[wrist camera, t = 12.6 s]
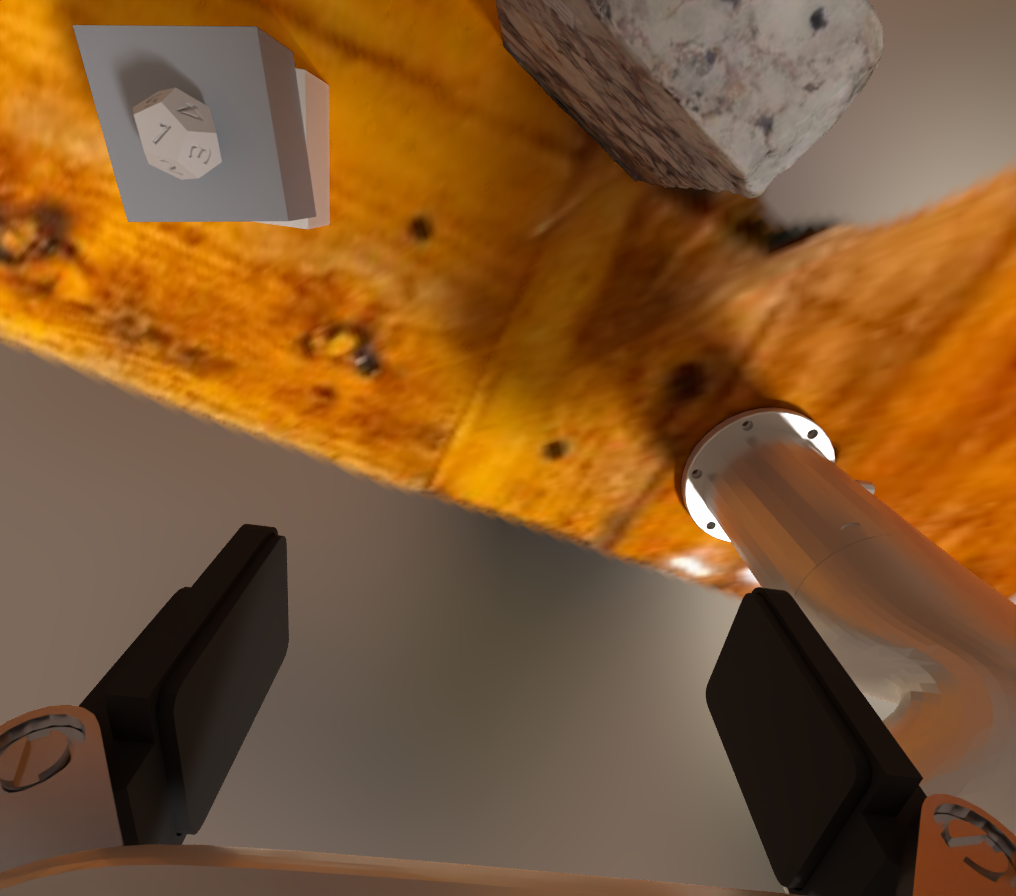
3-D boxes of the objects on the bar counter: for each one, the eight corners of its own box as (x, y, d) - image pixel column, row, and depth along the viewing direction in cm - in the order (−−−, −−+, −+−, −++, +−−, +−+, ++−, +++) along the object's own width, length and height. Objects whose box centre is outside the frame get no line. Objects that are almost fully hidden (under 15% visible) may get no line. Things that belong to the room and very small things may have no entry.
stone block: (477, 62, 33) (465, -88, 15) (546, -59, 31) (630, -408, 13) (639, 200, 37) (786, 212, 19) (712, 102, 34) (959, 7, 16)
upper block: (293, 52, 29) (256, 26, 24) (316, 216, 32) (288, 221, 28) (138, 51, 28) (72, 24, 24) (179, 217, 32) (127, 221, 27)
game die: (138, 132, 26) (97, 125, 23) (189, 75, 25) (153, 60, 22) (200, 197, 27) (167, 197, 24) (250, 144, 26) (222, 138, 23)
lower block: (329, 85, 33) (305, 69, 29) (330, 224, 37) (308, 229, 32) (194, 63, 33) (148, 43, 28) (208, 207, 36) (168, 209, 32)
